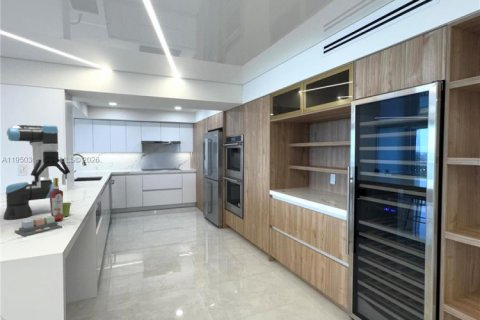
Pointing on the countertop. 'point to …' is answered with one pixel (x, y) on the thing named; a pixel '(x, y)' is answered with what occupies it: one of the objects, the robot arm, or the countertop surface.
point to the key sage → (49, 219)
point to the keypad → (38, 229)
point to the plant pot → (66, 209)
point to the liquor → (56, 201)
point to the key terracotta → (39, 222)
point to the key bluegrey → (27, 224)
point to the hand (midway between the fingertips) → (51, 186)
